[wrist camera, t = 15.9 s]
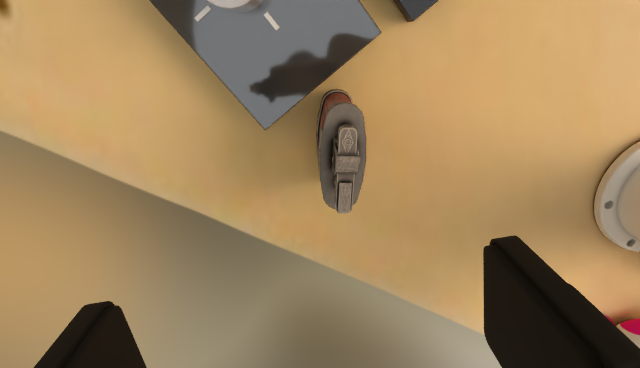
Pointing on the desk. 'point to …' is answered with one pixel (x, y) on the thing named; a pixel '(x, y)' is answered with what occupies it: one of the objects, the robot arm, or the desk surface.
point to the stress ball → (631, 330)
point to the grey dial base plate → (272, 46)
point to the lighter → (340, 150)
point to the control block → (413, 7)
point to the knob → (237, 4)
